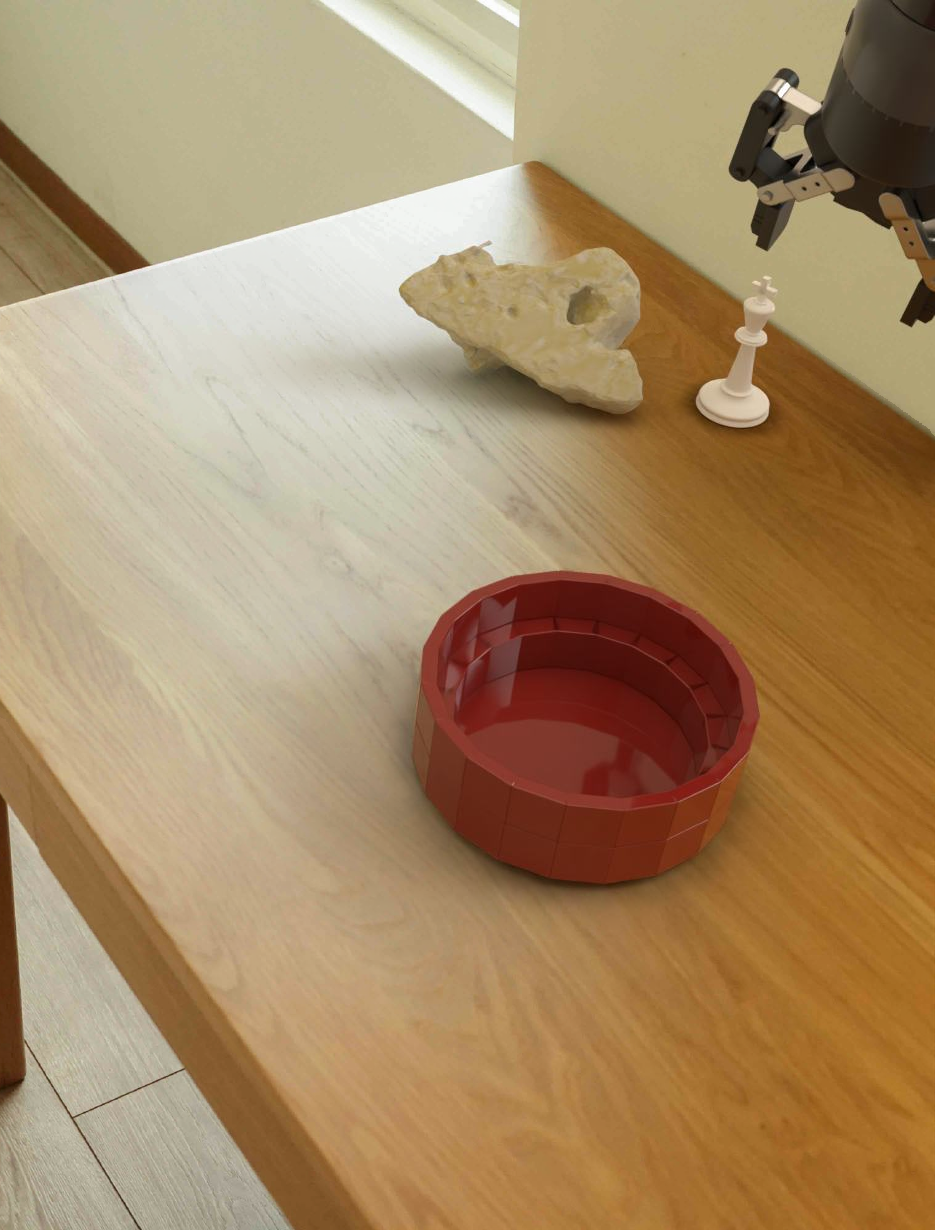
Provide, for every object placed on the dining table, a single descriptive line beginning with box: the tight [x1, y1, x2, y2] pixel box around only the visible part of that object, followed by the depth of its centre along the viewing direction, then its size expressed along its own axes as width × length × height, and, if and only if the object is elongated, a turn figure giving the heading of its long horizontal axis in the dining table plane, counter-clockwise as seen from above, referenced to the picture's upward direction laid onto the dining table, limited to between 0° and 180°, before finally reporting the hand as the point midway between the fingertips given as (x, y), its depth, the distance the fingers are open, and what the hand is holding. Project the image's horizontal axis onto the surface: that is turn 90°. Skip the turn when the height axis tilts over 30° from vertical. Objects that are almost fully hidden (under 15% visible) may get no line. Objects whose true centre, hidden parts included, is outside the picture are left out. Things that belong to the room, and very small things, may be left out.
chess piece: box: [695, 275, 779, 429], centre depth 102 cm, size 5×5×10 cm
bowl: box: [411, 569, 761, 884], centre depth 78 cm, size 17×17×6 cm
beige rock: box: [398, 240, 644, 415], centre depth 105 cm, size 15×7×15 cm
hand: (840, 274), depth 82 cm, fingers open, 8 cm apart
